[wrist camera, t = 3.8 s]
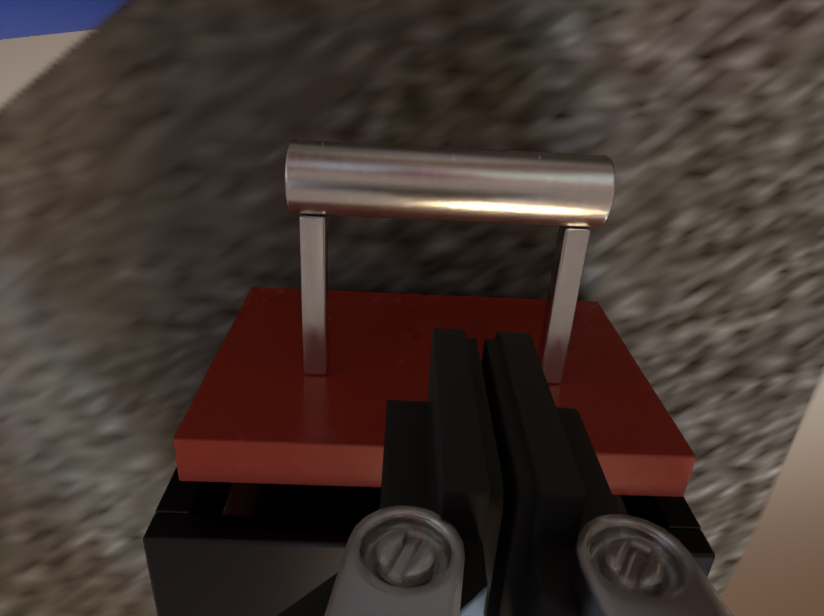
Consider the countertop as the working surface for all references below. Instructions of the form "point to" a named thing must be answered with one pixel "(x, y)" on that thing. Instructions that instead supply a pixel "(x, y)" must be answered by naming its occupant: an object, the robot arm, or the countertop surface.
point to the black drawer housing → (289, 551)
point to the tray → (412, 336)
